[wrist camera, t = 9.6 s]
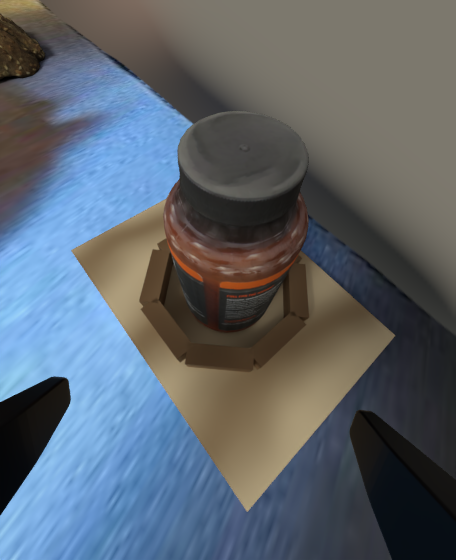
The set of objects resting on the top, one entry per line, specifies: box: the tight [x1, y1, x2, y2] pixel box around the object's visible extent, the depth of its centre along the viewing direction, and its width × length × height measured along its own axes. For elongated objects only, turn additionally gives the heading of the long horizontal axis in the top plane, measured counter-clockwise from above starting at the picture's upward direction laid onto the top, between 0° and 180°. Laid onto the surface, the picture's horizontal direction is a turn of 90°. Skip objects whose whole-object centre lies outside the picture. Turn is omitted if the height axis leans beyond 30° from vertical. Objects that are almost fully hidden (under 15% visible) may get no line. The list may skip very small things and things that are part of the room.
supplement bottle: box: [163, 111, 309, 333], centre depth 12 cm, size 6×6×11 cm
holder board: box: [71, 199, 395, 511], centre depth 17 cm, size 20×14×3 cm
